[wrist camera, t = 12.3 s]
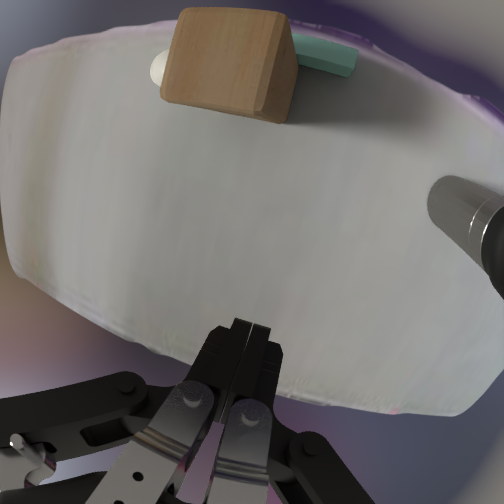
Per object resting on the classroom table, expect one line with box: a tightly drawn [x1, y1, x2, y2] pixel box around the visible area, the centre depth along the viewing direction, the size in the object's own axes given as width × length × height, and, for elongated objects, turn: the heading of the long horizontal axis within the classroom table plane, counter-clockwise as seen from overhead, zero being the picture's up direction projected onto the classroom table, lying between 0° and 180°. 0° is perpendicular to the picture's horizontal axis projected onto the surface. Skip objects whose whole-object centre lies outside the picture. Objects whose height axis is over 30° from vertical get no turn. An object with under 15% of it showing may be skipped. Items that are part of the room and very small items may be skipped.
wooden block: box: [160, 7, 299, 124], centre depth 27 cm, size 10×10×20 cm
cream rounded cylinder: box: [150, 49, 170, 86], centre depth 34 cm, size 6×6×7 cm
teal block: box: [292, 33, 358, 78], centre depth 30 cm, size 24×3×6 cm, turn 77°
